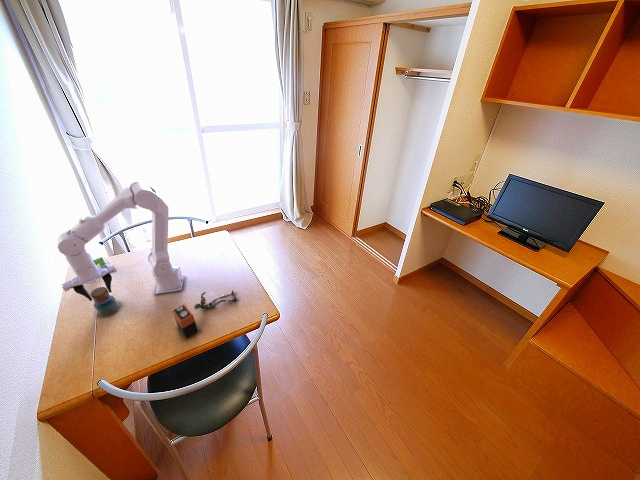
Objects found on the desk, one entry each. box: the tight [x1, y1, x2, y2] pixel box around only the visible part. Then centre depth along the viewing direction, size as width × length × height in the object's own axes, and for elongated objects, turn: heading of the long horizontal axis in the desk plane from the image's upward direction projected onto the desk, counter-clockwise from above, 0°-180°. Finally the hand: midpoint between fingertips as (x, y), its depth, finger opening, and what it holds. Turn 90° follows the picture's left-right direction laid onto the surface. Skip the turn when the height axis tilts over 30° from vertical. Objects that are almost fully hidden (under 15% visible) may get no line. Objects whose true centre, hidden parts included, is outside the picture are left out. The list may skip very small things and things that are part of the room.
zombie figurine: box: [193, 290, 237, 310], centre depth 102 cm, size 5×7×15 cm
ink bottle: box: [93, 294, 120, 317], centre depth 97 cm, size 6×6×6 cm
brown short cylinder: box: [90, 286, 111, 302], centre depth 95 cm, size 5×5×3 cm
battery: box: [172, 303, 199, 339], centre depth 91 cm, size 4×7×10 cm, turn 46°
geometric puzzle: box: [93, 256, 111, 269], centre depth 114 cm, size 7×7×8 cm
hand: (100, 295), depth 95 cm, fingers open, 5 cm apart
